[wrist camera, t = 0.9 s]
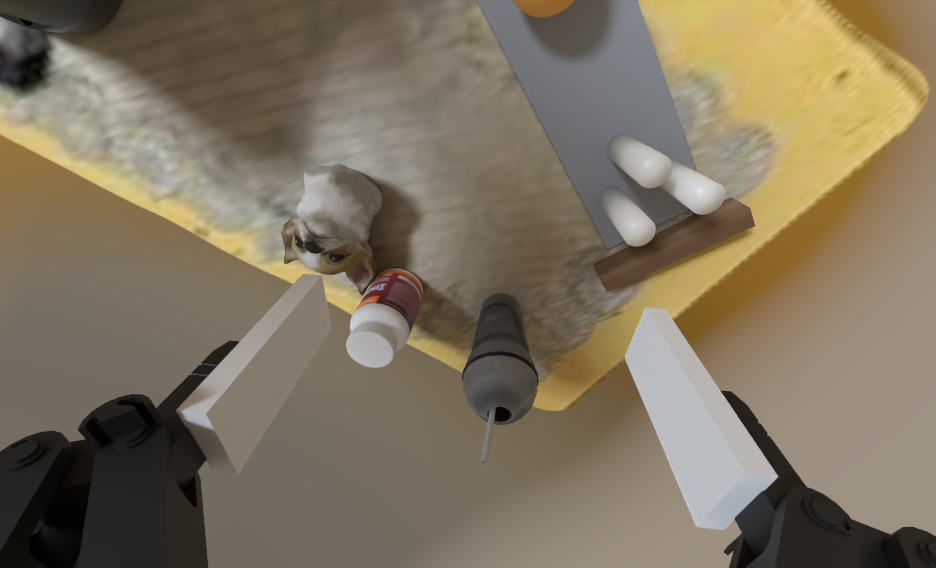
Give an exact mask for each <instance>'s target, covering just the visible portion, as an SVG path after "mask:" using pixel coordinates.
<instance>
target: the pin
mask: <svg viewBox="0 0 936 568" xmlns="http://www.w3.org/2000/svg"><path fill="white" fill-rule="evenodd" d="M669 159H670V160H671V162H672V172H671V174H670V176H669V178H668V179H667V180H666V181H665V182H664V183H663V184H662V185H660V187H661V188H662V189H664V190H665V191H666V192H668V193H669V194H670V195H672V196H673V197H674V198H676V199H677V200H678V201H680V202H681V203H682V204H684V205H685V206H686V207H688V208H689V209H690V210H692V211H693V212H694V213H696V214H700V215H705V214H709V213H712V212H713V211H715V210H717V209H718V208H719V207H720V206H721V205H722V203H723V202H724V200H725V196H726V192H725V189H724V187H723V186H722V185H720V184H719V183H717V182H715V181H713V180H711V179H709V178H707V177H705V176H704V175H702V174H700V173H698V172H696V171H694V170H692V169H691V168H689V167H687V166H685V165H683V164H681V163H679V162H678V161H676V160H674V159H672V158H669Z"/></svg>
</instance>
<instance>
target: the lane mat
mask: <svg viewBox="0 0 936 568" xmlns="http://www.w3.org/2000/svg"><path fill="white" fill-rule="evenodd" d="M477 2H478V4H479V6H480V8H481V10H482V12H483V14H484V15H485V17H486V19H487V21H488V23H489V25H490V27H491V29H492V31H493V33H494V35H495V36H496V38H497V40H498V42H499V44H500V46H501V48H502V50H503V52H504V54H505V56H506V57H507V59H508V61H509V63H510V65H511V67H512V69H513V71H514V73H515V75H516V76H517V78H518V80H519V82H520V84H521V86H522V88H523V90H524V92H525V94H526V96H527V97H528V99H529V101H530V103H531V105H532V107H533V109H534V111H535V113H536V115H537V116H538V118H539V120H540V122H541V124H542V126H543V128H544V130H545V132H546V134H547V136H548V137H549V139H550V141H551V143H552V145H553V147H554V149H555V151H556V153H557V155H558V157H559V158H560V160H561V162H562V164H563V166H564V168H565V170H566V172H567V174H568V176H569V177H570V179H571V181H572V183H573V185H574V187H575V189H576V191H577V193H578V195H579V197H580V198H581V200H582V202H583V204H584V206H585V208H586V210H587V212H588V214H589V216H590V218H591V219H592V221H593V223H594V225H595V227H596V229H597V231H598V233H599V235H600V237H601V238H602V240H603V242H604V244H605V246H606V248H607V250H608V249H610V248H612V247H614V246H616V245H618V244H620V243H622V242H624V241H625V240H624V239H623V237H622V236H621V235H620V233H619V232H618V230H617V229H616V228H615V226H614V225H613V223H612V222H611V220H610V219H609V218H608V216H607V215H606V213H605V212H604V211H603V209H602V208H601V206H600V204H599V197H600V195H601V193H602V192H603V191H604V190H606V189H607V188H610V187H618V188H620V189H621V190H622V191H623V192H624V193H625V194H626V195H627V196H628V197H629V198H630V199H631V200H632V201H633V202H634V203H635V204H636V205H637V206H638V207H639V208H640V209H641V210H642V211H643V212H644V213H645V214H646V215H647V216H648V217H649V218H650V219H651V220H652V222H653V223H654V224H655V226H656V225H658V224H660V223H662V222H665V221H667V220H669V219H671V218H673V217H675V216H677V215H679V214H681V213H683V212H685V211H687V210H689V208H688V207H686V206H685V205H684V204H682V203H681V202H680V201H678V200H677V199H676V198H674V197H673V196H672V195H670V194H669V193H668V192H666V191H665V190H664V189H662V188H661V187H660V186H658V187H655V188H645V187H643V186H641V185H640V184H639V183H638V182H636V181H635V180H634V179H633V178H632V177H630V176H629V175H628V174H627V173H626V172H625V171H623V170H622V169H621V168H620V167H619V166H618V165H616V164H615V163H614V162H613V161H612V160H611V159H610V158H609V157H608V155H607V148H608V145H609V143H610V142H611V140H612V139H614V138H615V137H617V136H619V135H628V136H630V137H632V138H634V139H636V140H638V141H639V142H641V143H643V144H645V145H647V146H649V147H651V148H652V149H654V150H656V151H658V152H660V153H662V154H664V155H665V156H667V157H668V158H672V159H674V160H676V161H678V162H679V163H681V164H683V165H685V166H687V167H689V168H691V169H692V170H694V171H696V172H697V170H696V167H695V164H694V162H693V159H692V156H691V153H690V150H689V147H688V144H687V142H686V139H685V136H684V133H683V130H682V127H681V124H680V121H679V119H678V116H677V113H676V110H675V107H674V104H673V101H672V99H671V96H670V93H669V90H668V87H667V84H666V81H665V79H664V76H663V73H662V70H661V67H660V64H659V61H658V59H657V56H656V53H655V50H654V47H653V44H652V41H651V38H650V36H649V33H648V30H647V27H646V24H645V21H644V18H643V16H642V13H641V10H640V7H639V4H638V1H637V0H575V1H574V2H573V3H572V4H571V5H570V6H569V7H568V8H566V9H565V10H563V11H562V12H560V13H558V14H556V15H553V16H550V17H545V18H538V17H533V16H530V15H528V14H526V13H524V12H522V11H521V10H520V9H519V8H518V7H517V6H516V5H515V4H514V3H513V1H512V0H477Z"/></svg>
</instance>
